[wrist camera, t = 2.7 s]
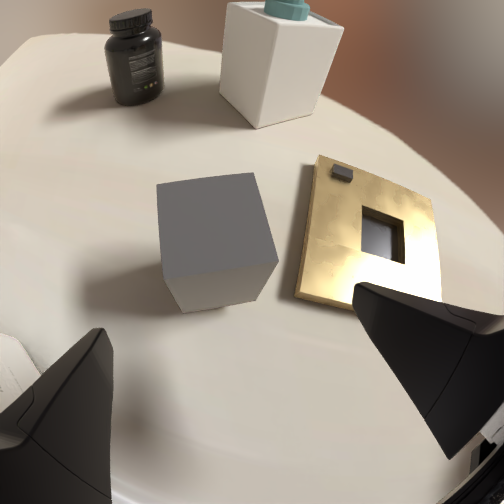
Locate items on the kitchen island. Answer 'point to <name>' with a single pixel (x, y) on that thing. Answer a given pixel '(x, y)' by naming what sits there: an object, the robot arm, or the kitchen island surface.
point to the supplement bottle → (134, 57)
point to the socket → (365, 237)
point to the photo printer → (14, 370)
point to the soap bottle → (275, 59)
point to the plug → (214, 241)
